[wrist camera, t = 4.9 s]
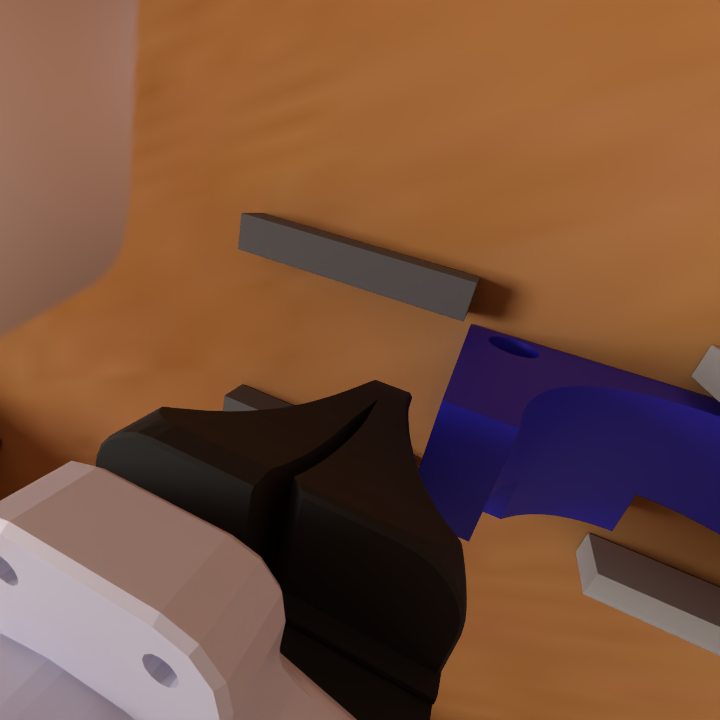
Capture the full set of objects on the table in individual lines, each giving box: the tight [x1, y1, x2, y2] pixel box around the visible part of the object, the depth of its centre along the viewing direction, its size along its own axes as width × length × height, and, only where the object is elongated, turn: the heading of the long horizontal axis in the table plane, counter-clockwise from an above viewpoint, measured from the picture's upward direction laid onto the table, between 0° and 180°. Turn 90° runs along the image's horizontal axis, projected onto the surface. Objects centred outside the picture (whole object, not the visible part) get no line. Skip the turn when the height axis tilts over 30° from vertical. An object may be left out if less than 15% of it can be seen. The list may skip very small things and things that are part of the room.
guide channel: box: [223, 213, 480, 458], centre depth 15 cm, size 8×8×1 cm
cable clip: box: [418, 324, 720, 541], centre depth 10 cm, size 12×4×6 cm, turn 77°
